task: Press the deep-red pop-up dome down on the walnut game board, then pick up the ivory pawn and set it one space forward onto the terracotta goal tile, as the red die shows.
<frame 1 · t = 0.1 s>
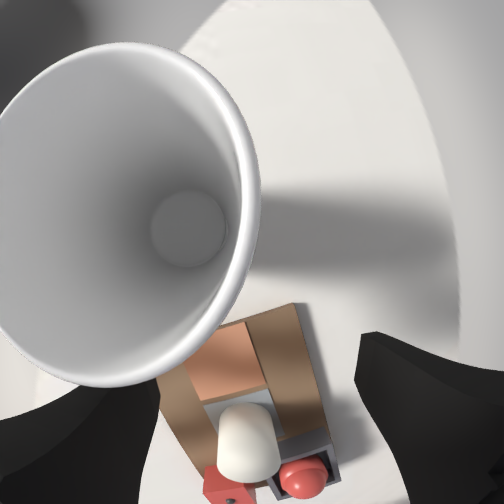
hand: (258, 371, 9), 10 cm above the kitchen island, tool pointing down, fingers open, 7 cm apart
ivory pawn: (245, 422, 19), point 1 cm above the kitchen island, touching game board
pop dome: (305, 481, 16), point 4 cm above the kitchen island, slide at 0.0 cm
drinking glass: (191, 228, 19), on the kitchen island
game board: (247, 420, 20), on the kitchen island
red die: (230, 474, 19), resting on game board
pop dome base: (297, 458, 19), resting on game board
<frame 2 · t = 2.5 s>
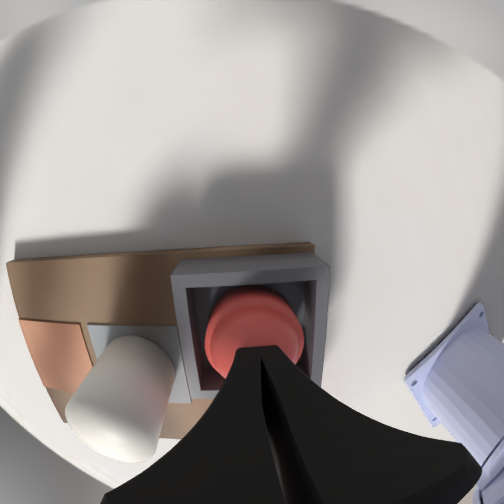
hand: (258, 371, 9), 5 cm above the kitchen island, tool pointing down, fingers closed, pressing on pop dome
ivory pawn: (138, 367, 13), point 1 cm above the kitchen island, touching game board
pop dome: (255, 346, 10), point 4 cm above the kitchen island, slide at 0.4 cm, touching gripper
game board: (151, 359, 14), on the kitchen island
pop dome base: (250, 316, 13), resting on game board
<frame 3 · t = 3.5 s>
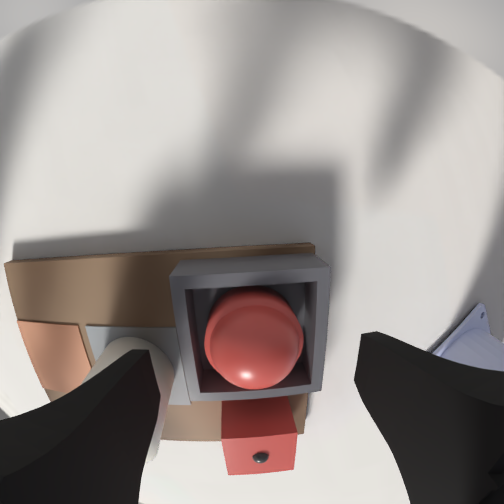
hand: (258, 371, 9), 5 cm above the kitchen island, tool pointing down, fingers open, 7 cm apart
ivory pawn: (137, 369, 13), point 1 cm above the kitchen island, touching game board
pop dome: (254, 345, 10), point 3 cm above the kitchen island, slide at 0.6 cm
game board: (150, 360, 14), on the kitchen island
red die: (254, 412, 14), resting on game board
pop dome base: (250, 317, 13), resting on game board
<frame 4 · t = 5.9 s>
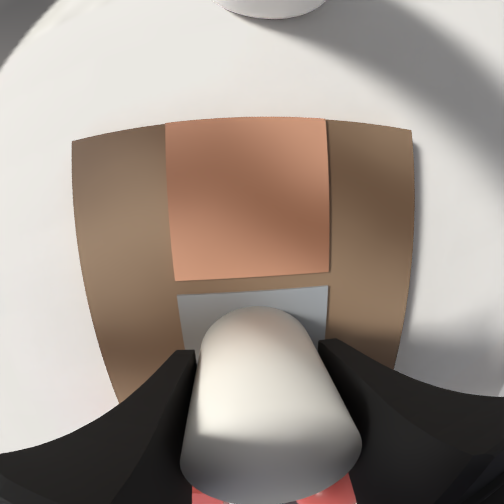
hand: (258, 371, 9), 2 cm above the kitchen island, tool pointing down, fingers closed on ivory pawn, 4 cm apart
ivory pawn: (256, 357, 10), point 1 cm above the kitchen island, touching game board, gripper
pop dome: (329, 482, 9), point 3 cm above the kitchen island, slide at 0.6 cm
game board: (254, 354, 11), on the kitchen island
red die: (189, 453, 11), resting on game board
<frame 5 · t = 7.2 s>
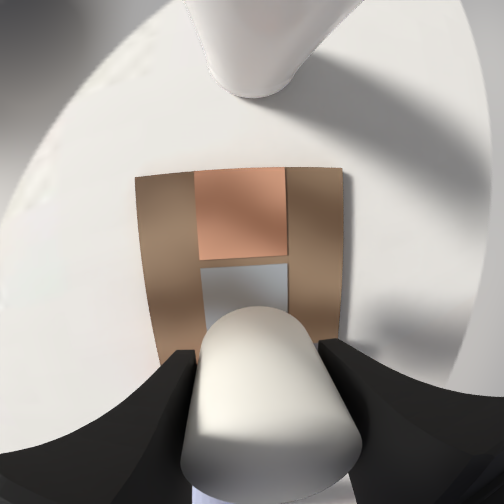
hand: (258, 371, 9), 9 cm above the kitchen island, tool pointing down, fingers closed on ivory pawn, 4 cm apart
ivory pawn: (256, 357, 10), point 8 cm above the kitchen island, touching gripper
drinking glass: (251, 65, 15), on the kitchen island
game board: (245, 308, 18), on the kitchen island
when the fingers open (3 cm above the kitchen island, at t = 8.9 s): ivory pawn drops 2 cm, resting on game board.
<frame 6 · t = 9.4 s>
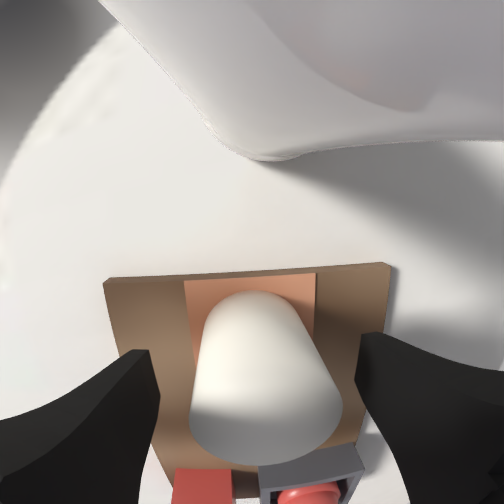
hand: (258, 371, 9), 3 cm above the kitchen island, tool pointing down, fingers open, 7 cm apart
ivory pawn: (253, 336, 11), point 1 cm above the kitchen island, touching game board
pop dome: (310, 503, 11), point 3 cm above the kitchen island, slide at 0.6 cm
drinking glass: (266, 101, 10), on the kitchen island
game board: (256, 420, 13), on the kitchen island
red die: (207, 481, 13), resting on game board
pop dome base: (302, 474, 14), resting on game board
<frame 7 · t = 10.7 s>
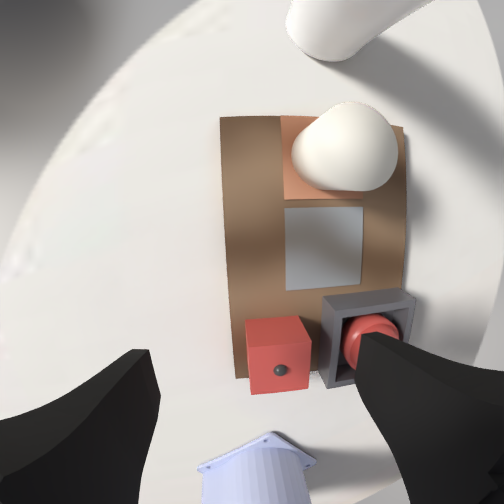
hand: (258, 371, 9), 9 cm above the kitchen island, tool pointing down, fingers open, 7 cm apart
ivory pawn: (324, 156, 16), point 1 cm above the kitchen island, touching game board
pop dome: (374, 347, 16), point 3 cm above the kitchen island, slide at 0.6 cm
drinking glass: (320, 35, 15), on the kitchen island
game board: (321, 253, 18), on the kitchen island
red die: (272, 340, 18), resting on game board
pop dome base: (358, 329, 18), resting on game board
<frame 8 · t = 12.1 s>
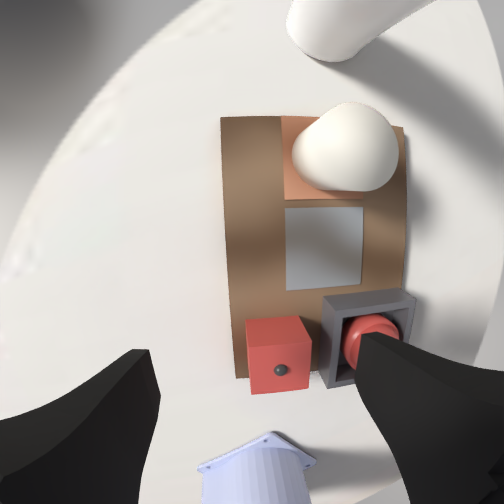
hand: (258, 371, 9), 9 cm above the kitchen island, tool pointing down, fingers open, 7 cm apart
ivory pawn: (324, 156, 16), point 1 cm above the kitchen island, touching game board
pop dome: (374, 347, 16), point 3 cm above the kitchen island, slide at 0.6 cm
drinking glass: (321, 35, 15), on the kitchen island
game board: (321, 253, 18), on the kitchen island
red die: (272, 340, 18), resting on game board
pop dome base: (358, 329, 18), resting on game board
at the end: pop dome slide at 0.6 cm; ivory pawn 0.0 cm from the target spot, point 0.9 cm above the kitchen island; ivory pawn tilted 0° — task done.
